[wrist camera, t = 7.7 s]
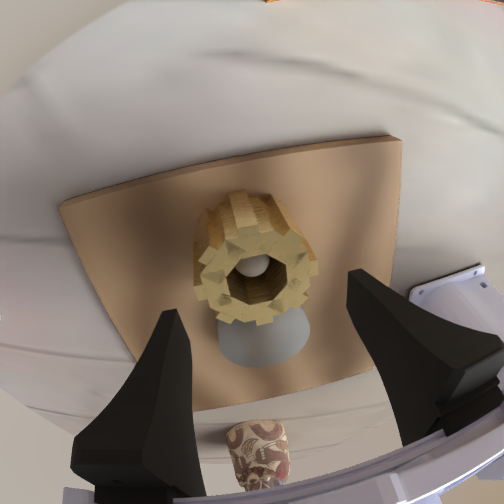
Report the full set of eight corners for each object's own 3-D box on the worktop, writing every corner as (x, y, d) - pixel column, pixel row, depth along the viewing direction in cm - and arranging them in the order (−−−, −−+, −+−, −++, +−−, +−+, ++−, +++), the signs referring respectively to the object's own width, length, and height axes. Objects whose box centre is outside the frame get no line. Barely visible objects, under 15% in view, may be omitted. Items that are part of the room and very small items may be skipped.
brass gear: (291, 180, 17) (315, 212, 13) (298, 268, 20) (318, 311, 17) (182, 202, 16) (178, 240, 13) (206, 288, 20) (210, 335, 16)
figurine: (272, 412, 32) (295, 510, 22) (292, 431, 36) (314, 513, 26) (215, 430, 33) (228, 523, 23) (242, 447, 37) (256, 527, 27)
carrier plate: (391, 135, 17) (437, 158, 13) (368, 360, 29) (385, 396, 26) (65, 200, 16) (34, 239, 12) (172, 404, 28) (174, 444, 25)
